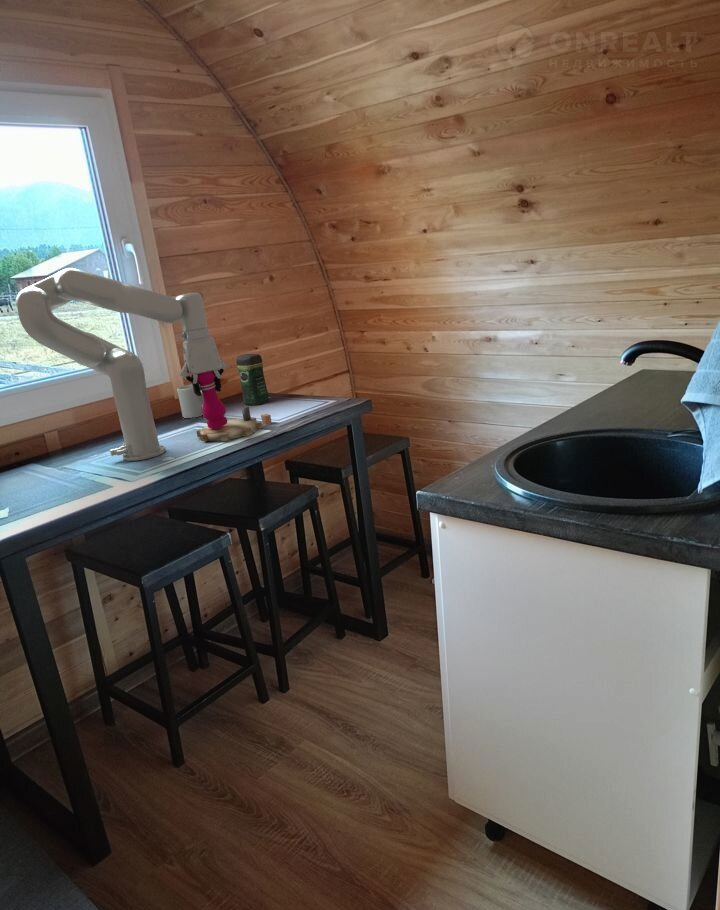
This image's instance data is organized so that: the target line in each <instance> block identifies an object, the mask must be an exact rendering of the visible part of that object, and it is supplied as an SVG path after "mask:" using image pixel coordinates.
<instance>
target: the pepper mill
mask: <svg viewBox="0 0 720 910" xmlns="http://www.w3.org/2000/svg"><path fill="white" fill-rule="evenodd" d="M214 378H215V375H214V372H213V371H210V372H205V373H201V374H198V378H197V382H198V383H199V384H200V390H201V391H202V395H203V408H202V412H203V416H202V417H203V418H205V419H206V420H207V421H206V424H207V425H206V426H208V428H217V427H221V426H224V425H225V424H227V420H228V419H227V416H225V415H226V413H227V409H226V406H225V404H224V403H223V401H222V400H221V399H220V397H219V396H218V394H217V391H215V386H216V385H215V382H213V380H214Z"/></svg>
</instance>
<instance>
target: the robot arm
mask: <svg viewBox="0 0 720 910" xmlns="http://www.w3.org/2000/svg"><path fill="white" fill-rule="evenodd" d="M72 301H75V302H80V303H83V304H87V305H90V306H95V307H97V308H102V309H106V310H109V311H114V312H118V313H123V314H130V315H135V316H139V317H144V318H147V319H151V320H153V321H157V322H160V323H163V324H175V323H177V322H178V321H179V320H180V324H181V329H182V332H181V333H179V334H178V338H179V339H180V340H181V339H182V340H184V341H183V342H182V351H183V352H182V353H183V361H184V365H183V366H182V369H181V370H180V372H179V373H178V374H179V376H180V377H182V378H183V379H185V380H187V381H188V382H190V383H191V384H192V385H193V390H194V393H195V394H196V395H197V396H201V390H200V385H199V383H198V382H197V378H198V374H201V373H205V372H210V371H213V372H214V375H215V378H214V380H213V382H215V385H216V386H215V391H216V392H221V391H222V390H221V388H222V383H221V377H222V375H223V373H224V371H225V370H226V368H227V367H228V363H227V362H226V361H224V360H223V359H221V357H220V354H219V351H218V347H217V345H216V341H215V340H214V337H213V336H211V335H210V331H209V327H208V326H209V325H208V322H207V316H206V310H205V307H204V306H205V305H204V301H203V297H202V295H201V293H199V292H188V293H182V294H180V295H179V294H178V295H177V296H175V295H174V296H169V295H166V294H162V293H158V292H155V291H152V290H149V289H145V288H141V287H138V286H134V285H131V284H130V283H126V282H122V281H120V280H116V279H113V278H110V277H106V276H103V275H98V274H96V273H95V274H94V273H91V272H88V271H85V270H80V269H79V268H78V269H77V268H73V267H66V268H64V269H62V270H60V271H57V272H56V273H54V274H52V275H50V276H48V277H46V278H45V279H42V280H40V281H37V282H35V283H33V284H32V285H28V286H26V287H25V288H23V289H21V290H20V291H18V294H17V295H16V299H15V305H16V308H17V309H16V310H17V314H18V319H19V322H20V324H21V326H22V327H23V330H24V331H25V332H26V334H27V335H28V336H29V337H30V338H31V339H32V340H33V341H35V342H37V343H38V344H40V345H42V346H44V347H45V348H48V349H50V350H52V351H54V352H56V353H58V354H59V355H62V356H64V357H66V358H68V359H70V360H72V361H74V362H75V363H77V364H78V365H81V366H83V367H86V368H89V369H91V370H93V371H96V372H98V373H100V374H102V375H105V376H106V377H108V378H109V379H110V384H111V387H112V388H111V389H112V395H113V398H114V399H113V400H114V403H115V406H116V410H117V416H118V419H119V424H120V428H121V432H122V436H123V440H124V442H122V445H120V446H119V447H117V448H116V447H115V448H112V449H109V453H110V455H111V457H114V456H122V458H123V460H124V461H128V462H135V461H136V462H138V461H142V460H143V461H144V460H148V459H151V458H155V457H157V456H161V455H163V454H164V453H165V452H166V450H167V449H166V446H165V445H162V444H160V441H159V438H158V437H159V436H158V433H157V428H156V423H155V420H154V415H153V410H152V406H151V403H150V399H149V393H148V388H147V382H146V375H145V369H144V366H143V363H142V361H141V358H139V356H137V355H136V354H135V352H132V351H130V350H127V349H125V348H123V347H121V346H118V345H116V344H114V343H112V342H110V341H108V340H106V339H103V338H101V337H100V336H98V335H96V334H94V333H92V332H89V331H88V332H87V331H84V330H82V329H79V328H78V327H75V326H73V325H71V324H69V323H67V322H65V321H64V320H61V319H60V318H58V317H57V316H55V314H54V313H53V311H54V310H56V309H58V308H61V307H62V306H65V305H66V304H68V303H70V302H72ZM187 373H188V374H187ZM189 374H190V375H189Z"/></svg>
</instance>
